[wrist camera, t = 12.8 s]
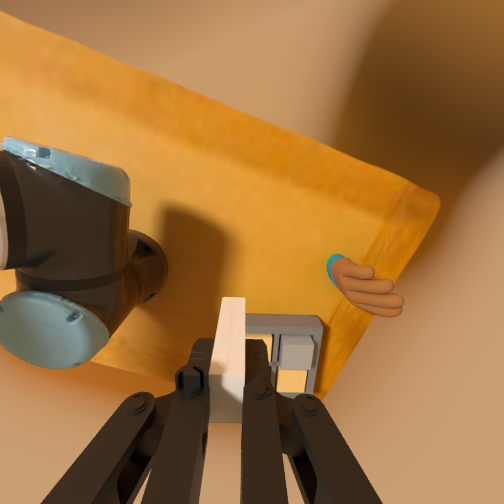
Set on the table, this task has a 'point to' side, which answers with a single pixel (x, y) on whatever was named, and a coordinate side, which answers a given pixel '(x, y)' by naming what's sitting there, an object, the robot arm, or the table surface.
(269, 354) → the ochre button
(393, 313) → the toy
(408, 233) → the table surface
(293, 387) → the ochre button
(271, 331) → the button board
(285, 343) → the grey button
